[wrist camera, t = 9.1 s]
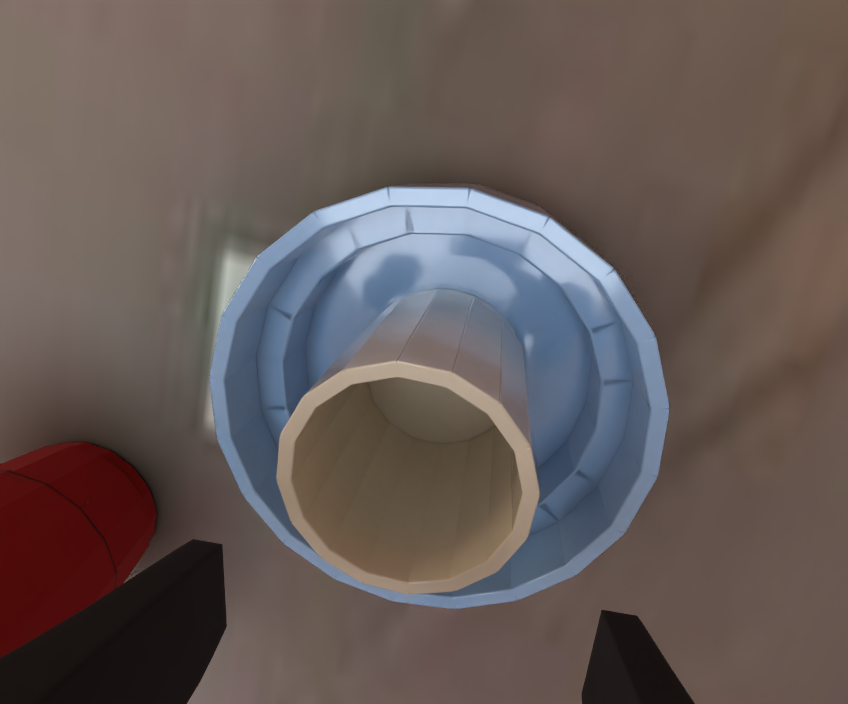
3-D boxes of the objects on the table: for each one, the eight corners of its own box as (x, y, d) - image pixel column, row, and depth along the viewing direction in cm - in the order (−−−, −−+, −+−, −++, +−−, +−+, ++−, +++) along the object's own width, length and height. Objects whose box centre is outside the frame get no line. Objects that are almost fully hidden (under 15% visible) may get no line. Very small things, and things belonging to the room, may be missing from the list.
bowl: (696, 419, 17) (756, 498, 13) (406, 562, 21) (380, 660, 17) (496, 97, 15) (492, 68, 11) (211, 317, 19) (125, 359, 15)
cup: (558, 394, 17) (590, 531, 11) (422, 470, 19) (377, 627, 12) (464, 254, 16) (434, 309, 10) (329, 346, 18) (226, 446, 11)
